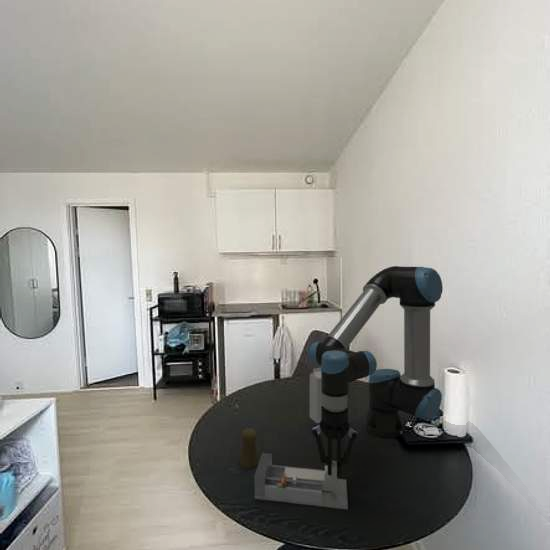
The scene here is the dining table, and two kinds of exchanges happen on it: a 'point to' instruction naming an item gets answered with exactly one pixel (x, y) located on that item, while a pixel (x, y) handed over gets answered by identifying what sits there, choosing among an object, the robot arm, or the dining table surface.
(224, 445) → the dining table surface
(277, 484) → the brown l-shaped block
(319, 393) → the milk
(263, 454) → the gauge housing
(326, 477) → the plunger
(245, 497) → the dining table surface
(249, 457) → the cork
